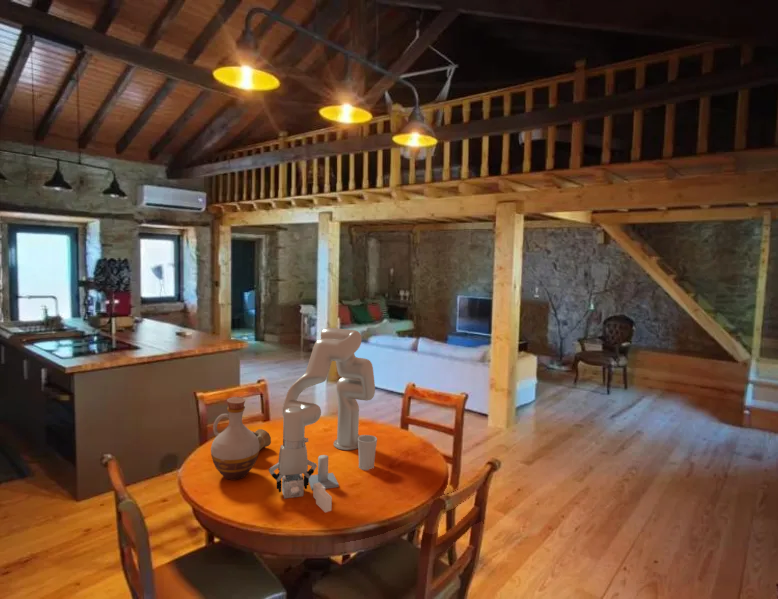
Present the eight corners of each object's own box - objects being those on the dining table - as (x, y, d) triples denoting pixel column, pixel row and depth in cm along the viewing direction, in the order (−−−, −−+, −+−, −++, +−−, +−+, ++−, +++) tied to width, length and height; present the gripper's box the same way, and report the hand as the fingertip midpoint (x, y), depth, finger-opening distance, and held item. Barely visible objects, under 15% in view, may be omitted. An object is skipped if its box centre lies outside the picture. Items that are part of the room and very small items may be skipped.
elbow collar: (281, 489, 175) (282, 473, 174) (300, 487, 177) (300, 471, 177) (285, 503, 165) (285, 486, 164) (305, 501, 167) (305, 484, 167)
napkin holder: (335, 516, 159) (335, 500, 158) (301, 514, 160) (302, 497, 159) (342, 494, 174) (342, 479, 173) (311, 492, 174) (311, 477, 174)
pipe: (273, 447, 212) (273, 426, 211) (256, 462, 196) (256, 439, 195) (254, 445, 214) (254, 423, 213) (235, 460, 198) (236, 436, 197)
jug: (196, 479, 180) (196, 401, 178) (228, 461, 197) (229, 389, 194) (238, 490, 173) (239, 409, 170) (268, 470, 190) (269, 396, 187)
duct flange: (332, 475, 188) (333, 450, 187) (338, 487, 178) (339, 461, 177) (307, 478, 184) (307, 453, 184) (311, 490, 175) (312, 464, 174)
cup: (380, 467, 197) (381, 438, 196) (366, 473, 191) (367, 443, 190) (366, 461, 202) (367, 433, 201) (352, 466, 196) (353, 438, 195)
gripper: (315, 436, 177) (314, 481, 179) (267, 440, 172) (267, 487, 173) (319, 444, 170) (318, 490, 172) (269, 448, 165) (268, 496, 166)
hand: (292, 488), depth 173 cm, fingers open, 8 cm apart
